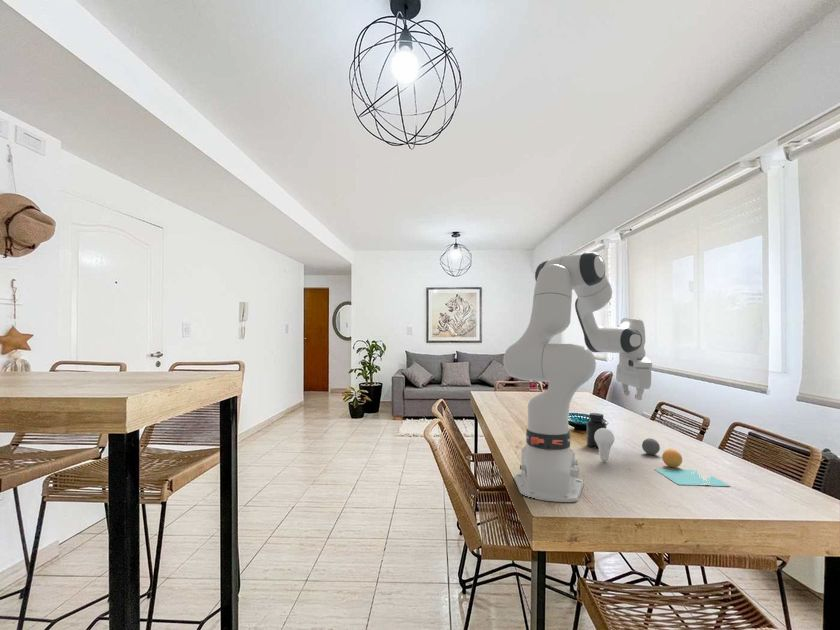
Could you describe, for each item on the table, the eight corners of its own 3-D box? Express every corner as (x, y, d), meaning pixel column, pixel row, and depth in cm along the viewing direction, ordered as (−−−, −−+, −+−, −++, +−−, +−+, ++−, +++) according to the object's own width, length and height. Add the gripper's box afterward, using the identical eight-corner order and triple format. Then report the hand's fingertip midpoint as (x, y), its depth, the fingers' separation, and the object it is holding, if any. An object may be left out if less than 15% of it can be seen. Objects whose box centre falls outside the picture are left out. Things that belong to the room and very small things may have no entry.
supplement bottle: (585, 443, 163) (584, 412, 163) (603, 444, 162) (603, 412, 162) (589, 448, 156) (589, 415, 157) (609, 449, 155) (608, 416, 156)
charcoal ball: (661, 457, 145) (661, 441, 145) (644, 455, 146) (643, 439, 147) (657, 453, 150) (657, 437, 151) (640, 451, 152) (640, 436, 152)
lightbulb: (609, 466, 134) (609, 431, 135) (591, 461, 139) (590, 428, 140) (618, 462, 138) (617, 428, 139) (599, 458, 143) (599, 425, 144)
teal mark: (730, 486, 117) (730, 486, 117) (678, 485, 118) (678, 484, 118) (701, 470, 131) (701, 470, 131) (654, 469, 132) (654, 468, 132)
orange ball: (684, 470, 131) (684, 452, 131) (665, 468, 132) (664, 451, 133) (679, 465, 136) (679, 448, 136) (660, 463, 138) (659, 446, 138)
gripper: (611, 358, 171) (611, 392, 170) (636, 363, 150) (636, 402, 150) (627, 358, 170) (627, 392, 170) (654, 363, 150) (654, 402, 150)
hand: (632, 397), depth 160 cm, fingers open, 8 cm apart
